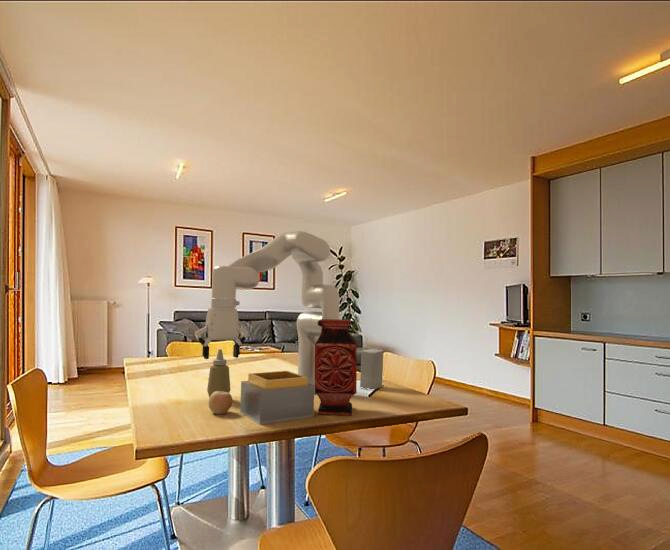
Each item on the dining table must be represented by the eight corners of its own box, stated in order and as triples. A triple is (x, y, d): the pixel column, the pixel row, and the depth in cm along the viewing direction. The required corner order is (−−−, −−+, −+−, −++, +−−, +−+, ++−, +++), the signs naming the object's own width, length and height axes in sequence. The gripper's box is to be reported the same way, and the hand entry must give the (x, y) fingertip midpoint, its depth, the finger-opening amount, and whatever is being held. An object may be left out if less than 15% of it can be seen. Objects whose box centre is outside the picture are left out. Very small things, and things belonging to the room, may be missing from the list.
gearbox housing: (290, 405, 154) (291, 369, 155) (313, 416, 141) (314, 377, 142) (240, 412, 145) (241, 373, 145) (259, 424, 131) (261, 381, 132)
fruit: (202, 414, 141) (203, 388, 142) (216, 409, 148) (217, 384, 149) (223, 417, 139) (224, 390, 139) (236, 411, 145) (237, 386, 146)
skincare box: (369, 385, 194) (370, 348, 195) (384, 387, 190) (384, 349, 190) (358, 388, 187) (359, 350, 188) (373, 390, 183) (374, 351, 184)
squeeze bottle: (224, 403, 156) (225, 351, 157) (202, 402, 157) (204, 350, 158) (233, 398, 164) (235, 348, 164) (213, 397, 165) (214, 347, 166)
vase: (316, 405, 156) (318, 318, 157) (355, 406, 156) (357, 319, 157) (312, 416, 142) (315, 320, 144) (356, 417, 142) (358, 321, 143)
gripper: (244, 304, 153) (242, 355, 152) (193, 303, 144) (190, 357, 143) (253, 305, 146) (251, 358, 145) (199, 304, 137) (197, 360, 136)
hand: (221, 358), depth 144 cm, fingers open, 9 cm apart
